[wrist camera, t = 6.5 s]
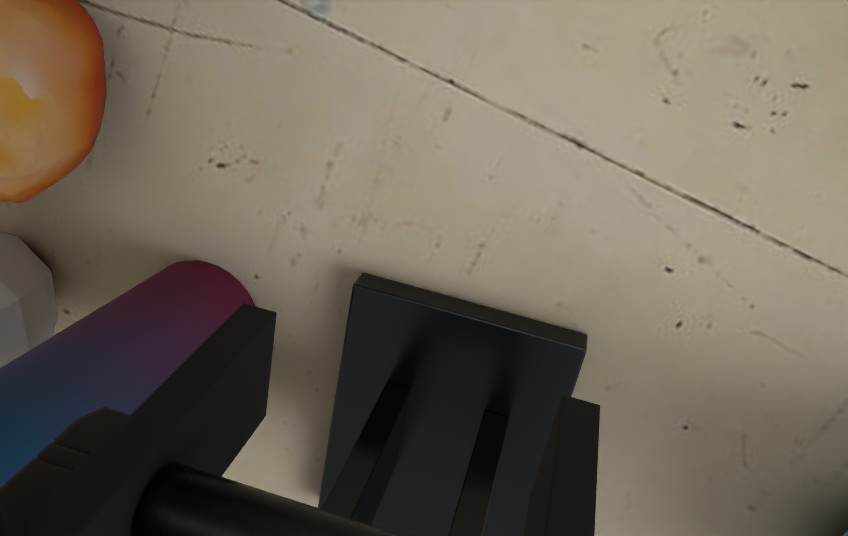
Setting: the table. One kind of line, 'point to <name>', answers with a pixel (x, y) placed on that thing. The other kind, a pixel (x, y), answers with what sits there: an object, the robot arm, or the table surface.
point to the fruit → (47, 93)
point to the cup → (111, 356)
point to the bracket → (442, 412)
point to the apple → (24, 299)
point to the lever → (231, 510)
